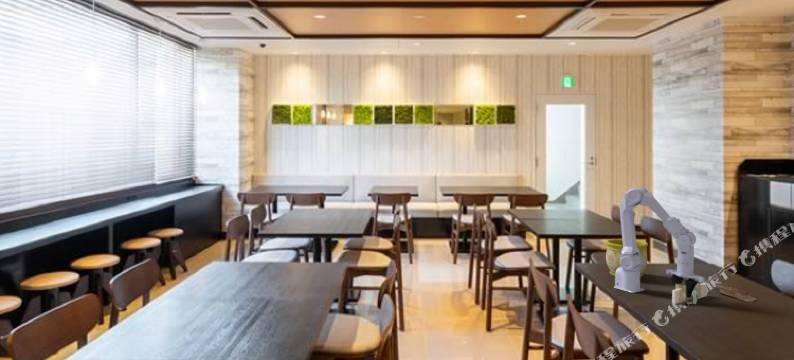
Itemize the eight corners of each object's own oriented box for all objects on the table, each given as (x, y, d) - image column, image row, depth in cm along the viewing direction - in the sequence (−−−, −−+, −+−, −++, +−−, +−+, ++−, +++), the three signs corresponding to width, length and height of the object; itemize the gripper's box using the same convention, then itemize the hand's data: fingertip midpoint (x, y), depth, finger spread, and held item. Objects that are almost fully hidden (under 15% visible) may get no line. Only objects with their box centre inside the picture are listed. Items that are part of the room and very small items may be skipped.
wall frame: (671, 303, 198) (671, 288, 198) (702, 295, 208) (703, 281, 208) (675, 304, 197) (676, 290, 196) (707, 296, 207) (708, 282, 206)
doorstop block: (675, 298, 204) (675, 284, 203) (681, 297, 206) (681, 282, 205) (684, 301, 200) (685, 286, 200) (690, 299, 202) (691, 285, 202)
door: (692, 303, 196) (693, 291, 196) (695, 297, 204) (695, 285, 204) (697, 304, 195) (698, 292, 195) (699, 297, 204) (700, 286, 203)
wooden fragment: (763, 303, 197) (763, 300, 197) (731, 302, 199) (731, 299, 199) (732, 285, 223) (732, 283, 223) (704, 285, 225) (704, 282, 225)
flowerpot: (605, 279, 235) (605, 244, 234) (605, 270, 251) (606, 237, 250) (648, 282, 228) (649, 246, 227) (645, 273, 245) (646, 239, 244)
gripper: (661, 259, 206) (660, 292, 207) (697, 267, 193) (696, 302, 194) (672, 257, 209) (671, 290, 210) (708, 265, 197) (706, 299, 198)
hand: (683, 295), depth 203 cm, fingers closed on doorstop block, 4 cm apart
